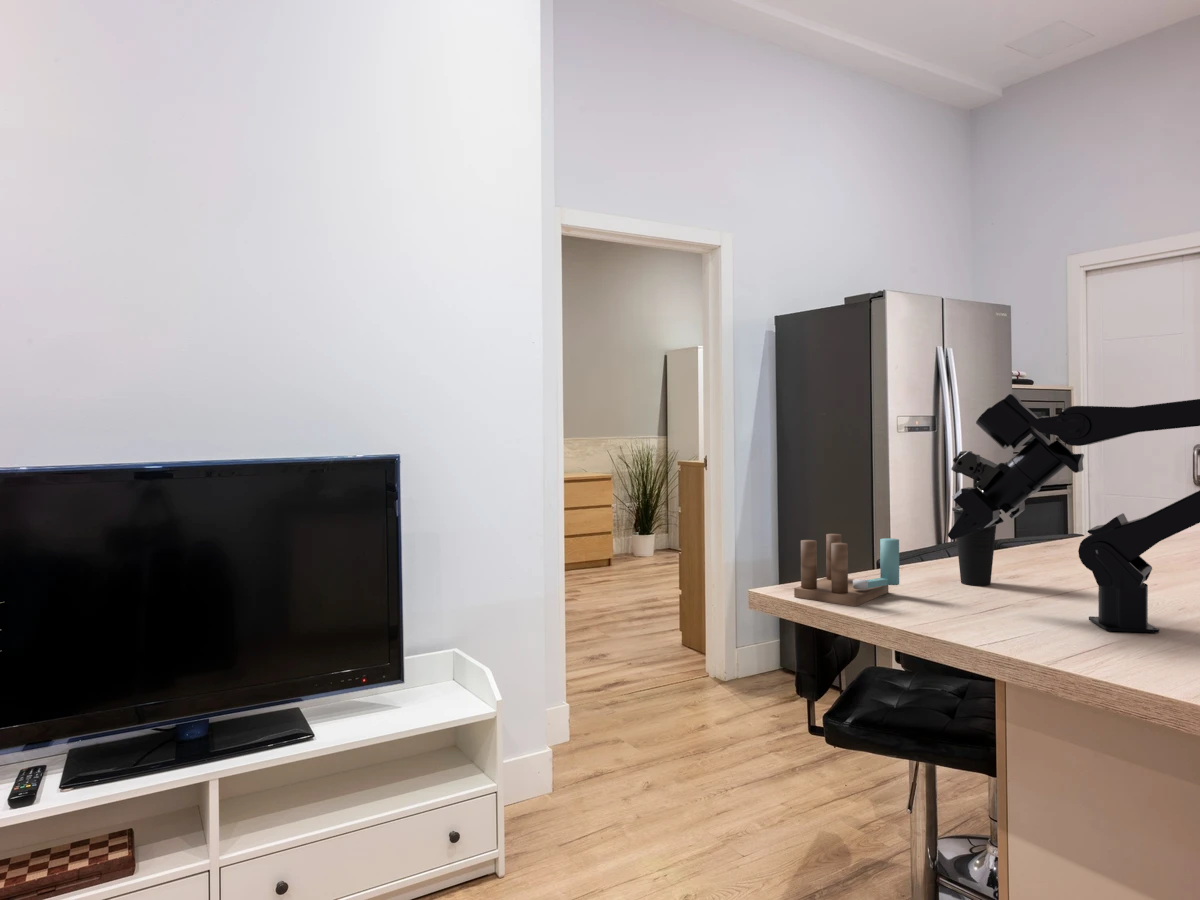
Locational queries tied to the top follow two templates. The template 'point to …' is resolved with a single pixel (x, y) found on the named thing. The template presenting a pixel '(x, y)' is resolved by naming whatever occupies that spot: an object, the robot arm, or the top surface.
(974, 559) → the drinking cup
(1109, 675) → the top surface
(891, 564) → the hinged leg
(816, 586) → the brown peg stand
